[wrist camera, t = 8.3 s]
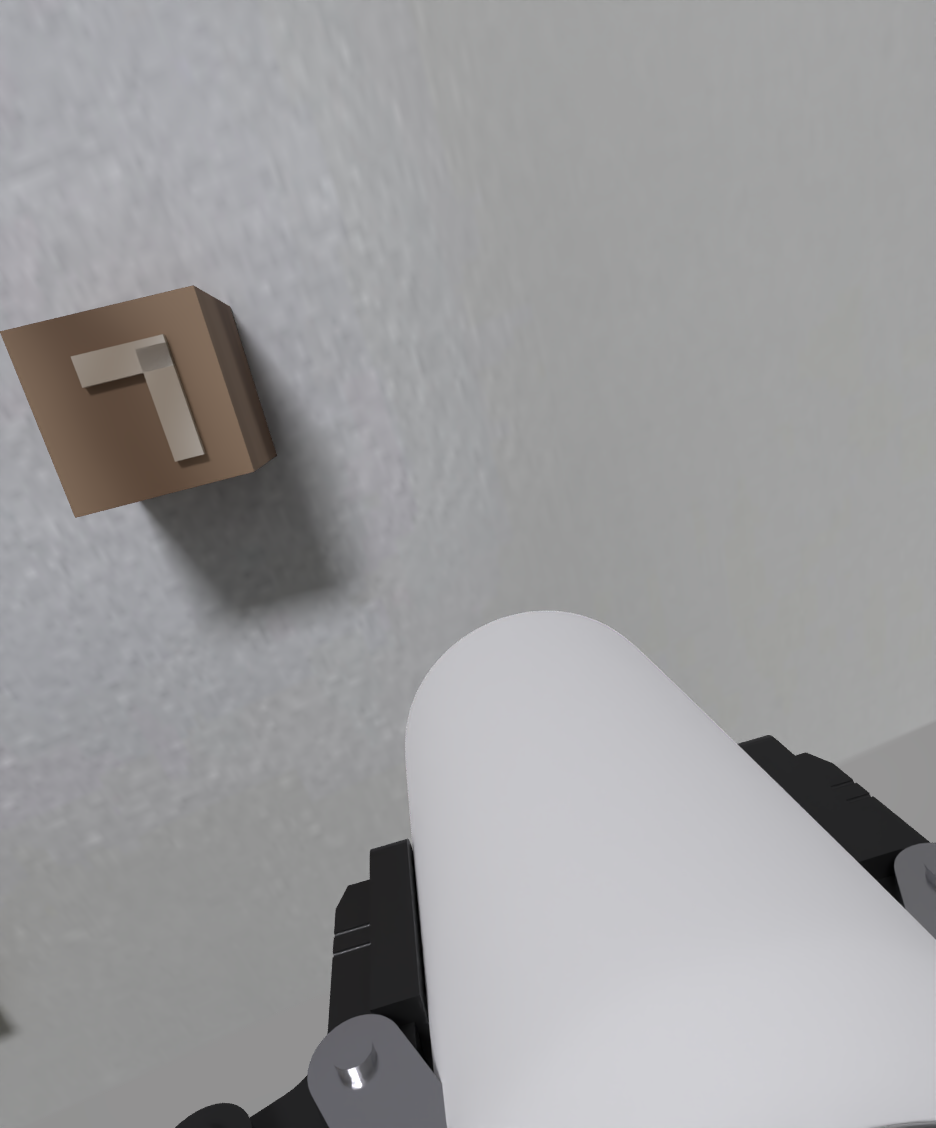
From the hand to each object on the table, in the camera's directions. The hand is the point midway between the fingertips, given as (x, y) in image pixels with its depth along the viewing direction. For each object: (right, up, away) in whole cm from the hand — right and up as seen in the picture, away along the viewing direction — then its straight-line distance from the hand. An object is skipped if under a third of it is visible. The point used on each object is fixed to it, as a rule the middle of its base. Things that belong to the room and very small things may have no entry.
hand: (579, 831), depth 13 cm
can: (0, +1, +4) cm, 4 cm away
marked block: (-12, +11, +10) cm, 19 cm away
